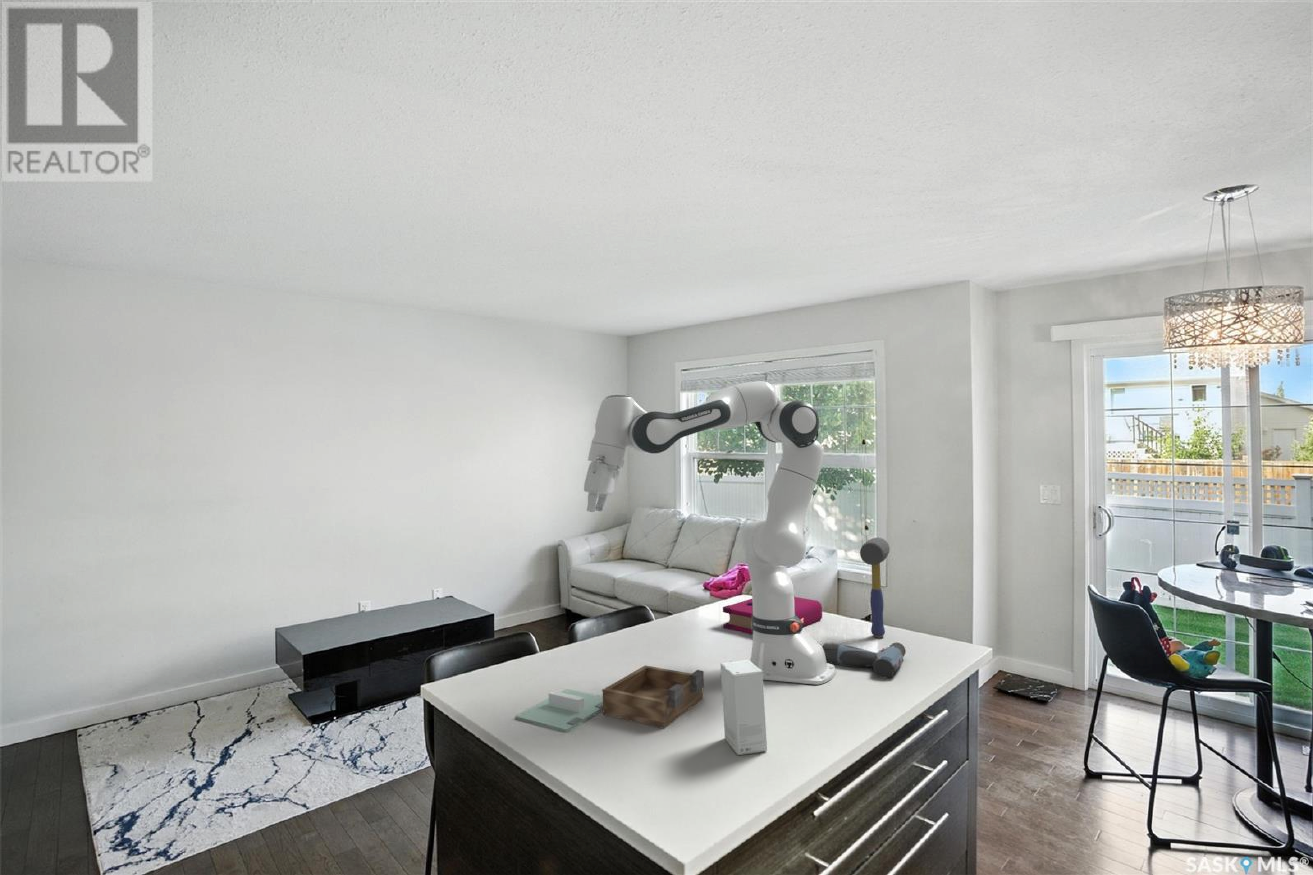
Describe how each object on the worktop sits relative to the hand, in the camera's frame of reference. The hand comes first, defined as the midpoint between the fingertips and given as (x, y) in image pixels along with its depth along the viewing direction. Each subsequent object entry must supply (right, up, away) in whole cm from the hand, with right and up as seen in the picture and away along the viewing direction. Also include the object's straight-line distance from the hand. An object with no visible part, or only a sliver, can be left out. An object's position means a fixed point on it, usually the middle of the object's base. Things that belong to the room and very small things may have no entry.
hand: (594, 511), depth 159 cm
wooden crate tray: (+15, -44, -12) cm, 48 cm away
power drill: (+72, -43, +14) cm, 85 cm away
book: (+54, -44, +53) cm, 88 cm away
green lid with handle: (-5, -45, -12) cm, 47 cm away
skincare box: (+33, -43, -32) cm, 63 cm away
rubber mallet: (+83, -43, +36) cm, 100 cm away
